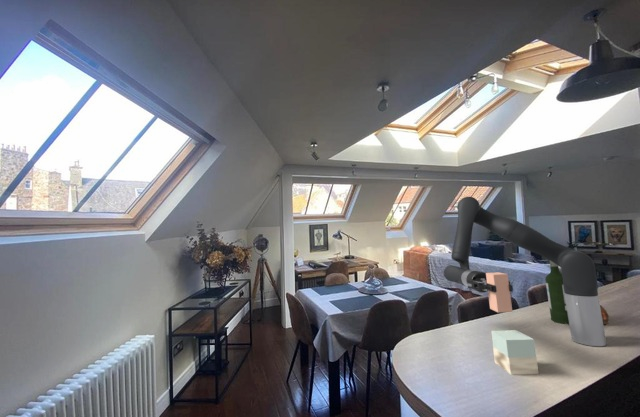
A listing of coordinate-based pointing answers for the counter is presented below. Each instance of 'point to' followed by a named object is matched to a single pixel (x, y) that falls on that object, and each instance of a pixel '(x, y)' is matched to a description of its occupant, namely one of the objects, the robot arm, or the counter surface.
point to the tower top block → (513, 343)
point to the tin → (604, 315)
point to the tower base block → (516, 363)
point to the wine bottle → (556, 295)
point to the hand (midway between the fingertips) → (503, 288)
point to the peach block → (499, 292)
